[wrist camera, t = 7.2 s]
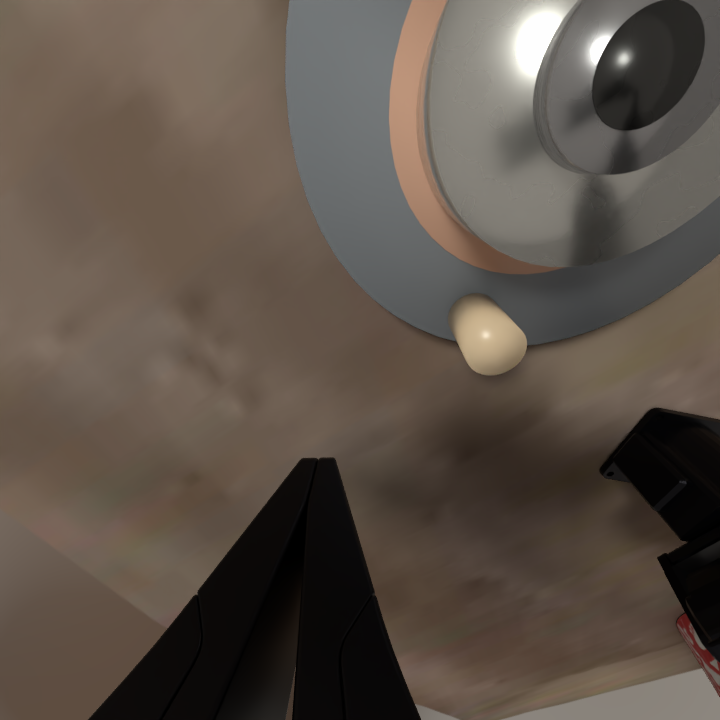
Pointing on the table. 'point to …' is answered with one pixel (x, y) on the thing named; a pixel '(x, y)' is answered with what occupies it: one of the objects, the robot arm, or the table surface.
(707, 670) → the mug
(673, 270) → the turntable
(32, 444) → the table surface
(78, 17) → the table surface
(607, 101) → the cover
